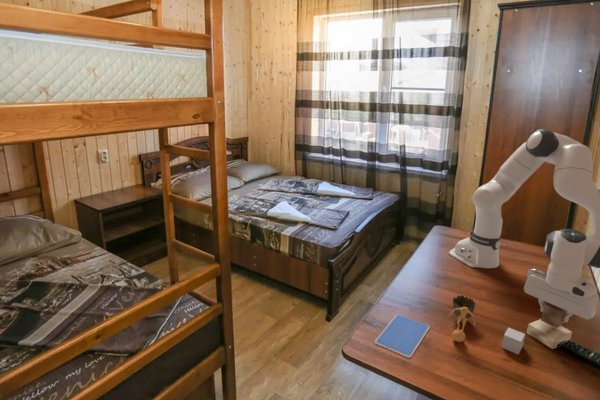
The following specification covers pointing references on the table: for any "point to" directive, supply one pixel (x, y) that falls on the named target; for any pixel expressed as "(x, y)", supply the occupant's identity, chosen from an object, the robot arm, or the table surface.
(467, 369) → the table surface
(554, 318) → the walnut block
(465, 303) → the cup
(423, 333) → the tablet computer
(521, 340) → the grey painted cube
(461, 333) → the figurine
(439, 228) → the table surface
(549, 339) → the beech pedestal block
